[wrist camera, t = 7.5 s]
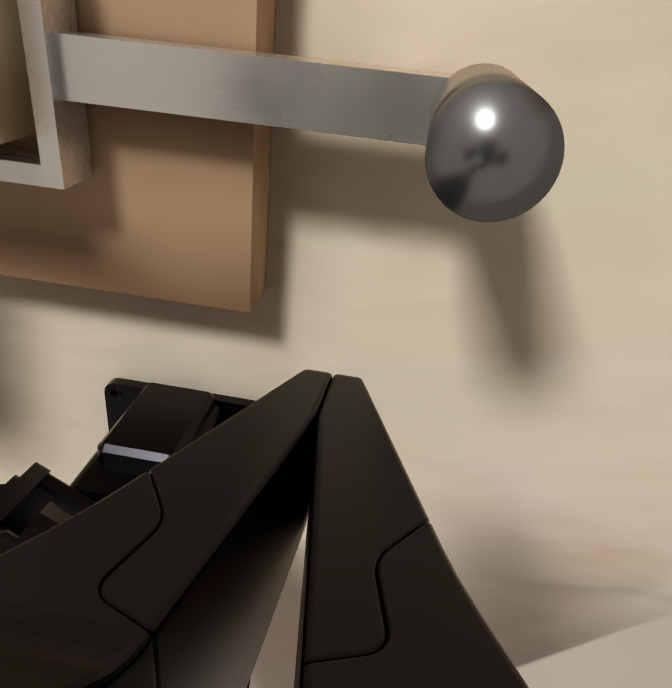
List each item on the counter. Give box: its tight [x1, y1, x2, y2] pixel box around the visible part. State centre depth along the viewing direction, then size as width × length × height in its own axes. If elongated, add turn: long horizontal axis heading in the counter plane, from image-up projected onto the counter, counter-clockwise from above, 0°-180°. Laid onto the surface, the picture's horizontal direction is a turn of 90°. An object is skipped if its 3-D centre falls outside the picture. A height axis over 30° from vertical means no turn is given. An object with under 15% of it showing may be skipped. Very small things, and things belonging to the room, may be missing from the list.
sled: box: [0, 0, 565, 222], centre depth 14 cm, size 6×18×6 cm, turn 84°
